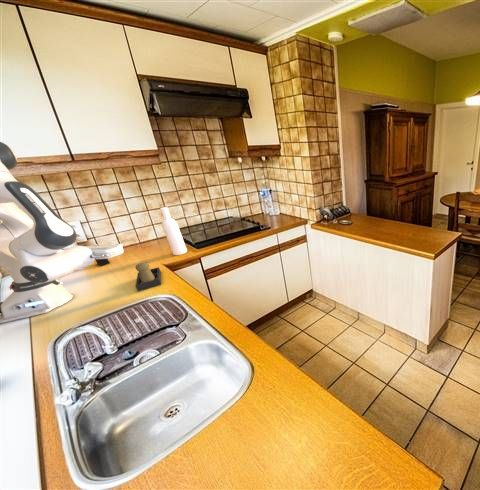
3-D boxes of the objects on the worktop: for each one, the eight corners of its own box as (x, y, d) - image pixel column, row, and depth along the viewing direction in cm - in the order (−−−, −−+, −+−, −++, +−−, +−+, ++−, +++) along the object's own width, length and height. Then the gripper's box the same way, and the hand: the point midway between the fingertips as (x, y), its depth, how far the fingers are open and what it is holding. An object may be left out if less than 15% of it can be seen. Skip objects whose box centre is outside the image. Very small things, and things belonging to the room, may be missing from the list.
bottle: (174, 252, 173) (157, 207, 161) (187, 249, 176) (172, 205, 164) (172, 256, 166) (154, 210, 154) (186, 253, 169) (170, 208, 158)
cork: (148, 286, 131) (140, 266, 126) (139, 285, 132) (130, 266, 128) (159, 280, 136) (151, 261, 132) (150, 279, 137) (142, 260, 133)
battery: (100, 266, 158) (92, 251, 154) (97, 264, 162) (89, 249, 158) (110, 263, 161) (102, 248, 158) (106, 261, 165) (99, 246, 161)
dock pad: (138, 291, 128) (135, 285, 127) (140, 277, 142) (137, 272, 140) (161, 284, 133) (158, 279, 132) (160, 272, 147) (158, 267, 145)
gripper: (103, 248, 102) (131, 238, 115) (47, 250, 101) (82, 239, 114) (109, 263, 104) (136, 251, 117) (54, 266, 103) (87, 253, 116)
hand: (109, 245), depth 116 cm, fingers open, 8 cm apart
